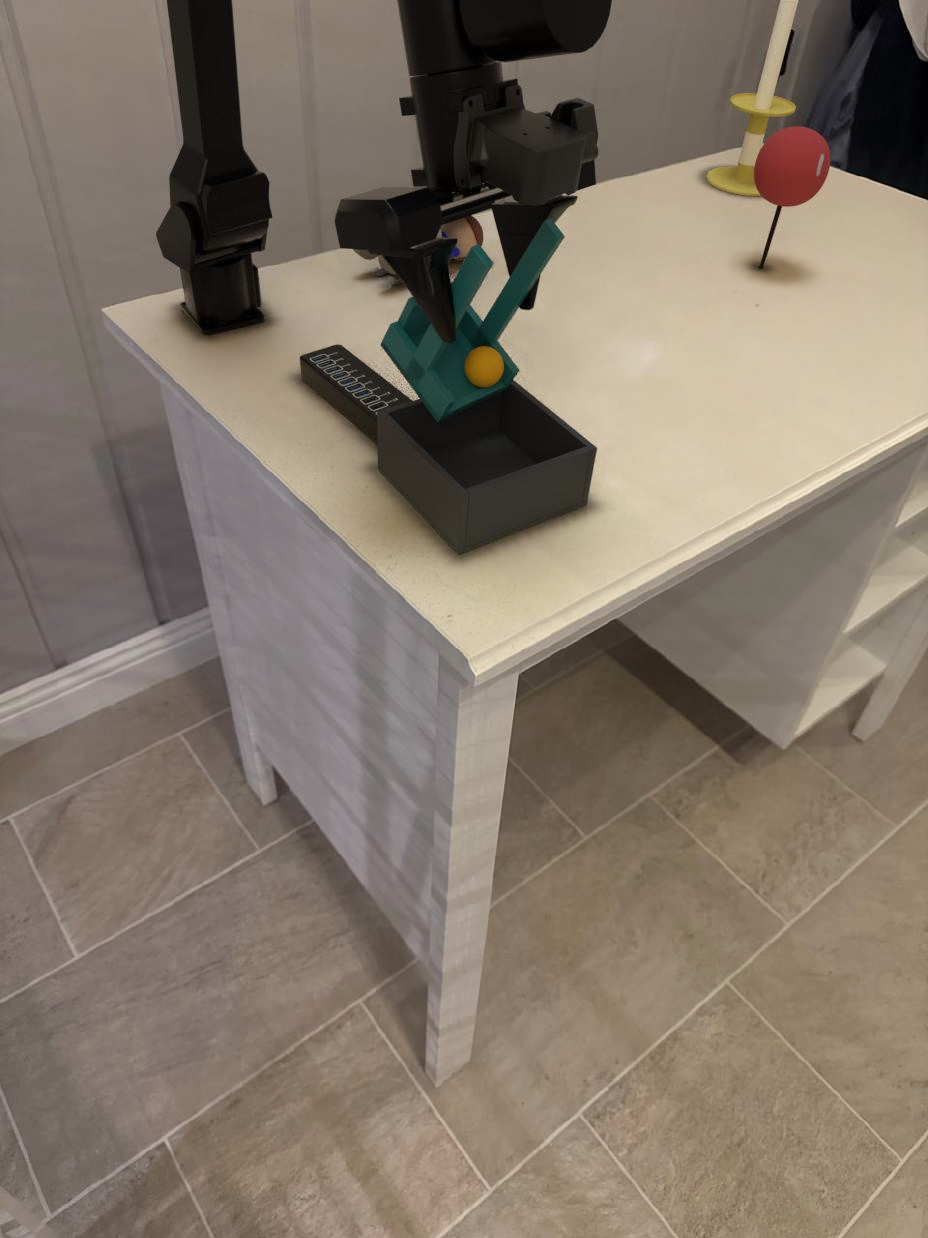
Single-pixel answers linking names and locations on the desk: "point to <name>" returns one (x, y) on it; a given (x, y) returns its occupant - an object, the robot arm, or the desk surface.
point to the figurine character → (452, 227)
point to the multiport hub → (350, 386)
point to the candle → (759, 110)
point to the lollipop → (790, 170)
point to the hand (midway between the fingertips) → (489, 325)
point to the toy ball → (483, 366)
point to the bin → (485, 465)
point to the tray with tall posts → (465, 330)
